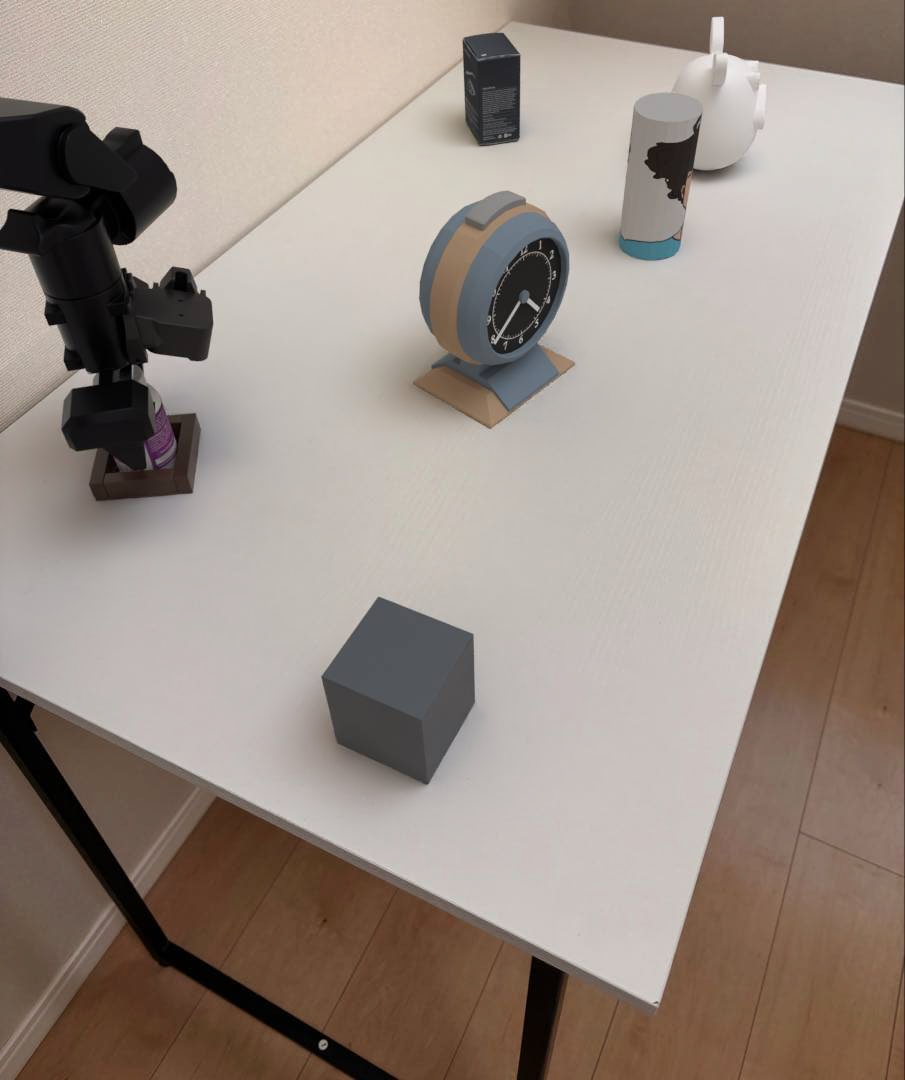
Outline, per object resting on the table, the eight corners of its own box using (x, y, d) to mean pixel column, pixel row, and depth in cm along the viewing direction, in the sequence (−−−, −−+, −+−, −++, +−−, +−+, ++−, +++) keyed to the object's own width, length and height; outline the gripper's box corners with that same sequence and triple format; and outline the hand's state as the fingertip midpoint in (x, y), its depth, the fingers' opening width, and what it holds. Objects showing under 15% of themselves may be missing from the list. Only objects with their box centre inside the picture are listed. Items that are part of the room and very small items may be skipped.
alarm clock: (483, 434, 84) (482, 257, 71) (405, 388, 88) (391, 214, 75) (581, 359, 91) (597, 185, 77) (504, 320, 95) (507, 150, 82)
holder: (95, 501, 80) (88, 484, 78) (110, 436, 85) (103, 420, 84) (192, 492, 80) (187, 476, 78) (201, 429, 85) (196, 412, 84)
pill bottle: (172, 436, 85) (143, 348, 78) (188, 472, 82) (159, 384, 74) (113, 455, 83) (77, 368, 76) (126, 493, 80) (90, 405, 73)
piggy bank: (770, 182, 112) (801, 49, 101) (676, 192, 111) (696, 59, 100) (734, 136, 121) (759, 9, 110) (645, 145, 120) (661, 17, 109)
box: (520, 141, 121) (522, 53, 113) (478, 147, 121) (477, 59, 113) (504, 115, 127) (504, 29, 119) (463, 120, 126) (461, 34, 118)
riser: (336, 742, 63) (320, 676, 57) (388, 665, 67) (378, 595, 62) (427, 785, 61) (421, 720, 55) (475, 702, 65) (474, 633, 59)
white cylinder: (688, 256, 102) (712, 118, 91) (628, 263, 102) (645, 125, 90) (669, 224, 107) (690, 89, 95) (611, 231, 106) (625, 95, 95)
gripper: (197, 335, 63) (242, 497, 75) (189, 201, 76) (229, 359, 87) (27, 361, 62) (100, 522, 74) (47, 220, 74) (106, 377, 86)
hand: (140, 438), depth 80 cm, fingers open, 7 cm apart
